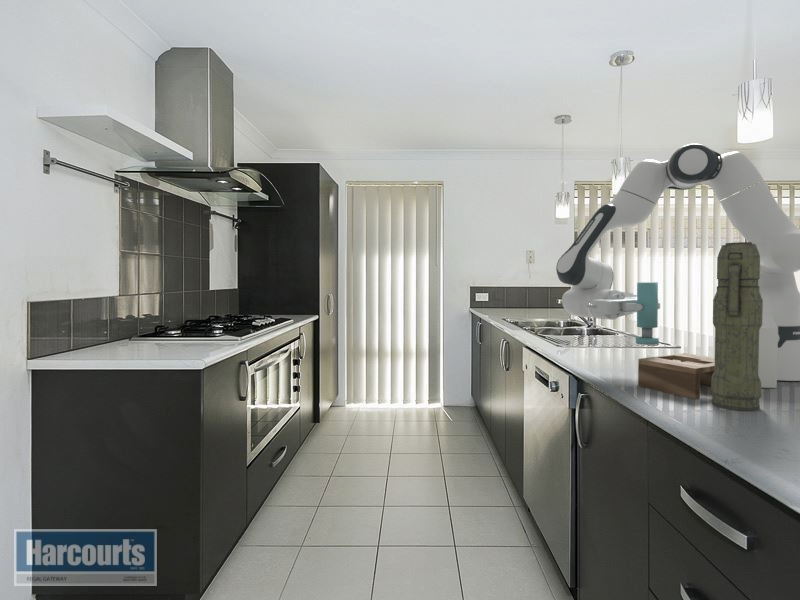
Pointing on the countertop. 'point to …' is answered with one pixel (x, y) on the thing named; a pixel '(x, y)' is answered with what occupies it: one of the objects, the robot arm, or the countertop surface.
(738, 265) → the thermos
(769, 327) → the milk carton
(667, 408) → the countertop surface
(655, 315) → the teal necked cylinder
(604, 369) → the countertop surface
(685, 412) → the countertop surface
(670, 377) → the keyhole bridge
